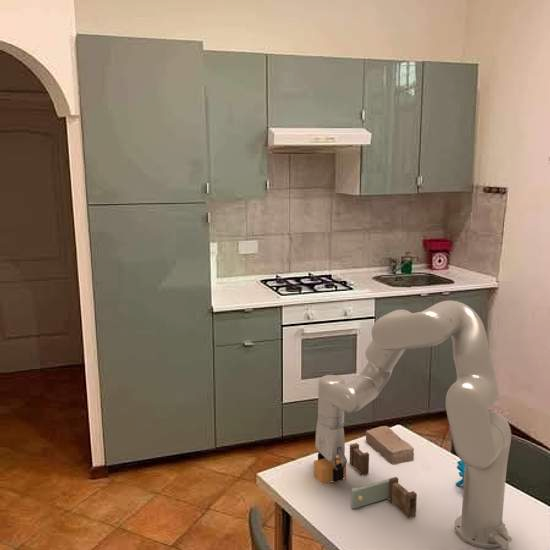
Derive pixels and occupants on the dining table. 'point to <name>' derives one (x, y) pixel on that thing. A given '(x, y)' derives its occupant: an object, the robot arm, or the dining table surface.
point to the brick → (389, 445)
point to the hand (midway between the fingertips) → (330, 472)
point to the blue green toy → (462, 468)
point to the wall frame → (396, 491)
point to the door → (369, 493)
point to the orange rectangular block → (325, 470)
